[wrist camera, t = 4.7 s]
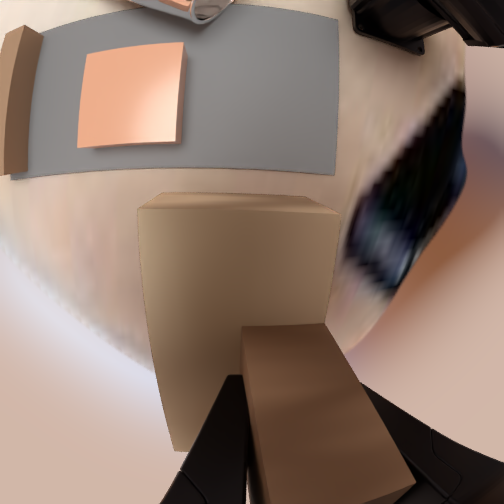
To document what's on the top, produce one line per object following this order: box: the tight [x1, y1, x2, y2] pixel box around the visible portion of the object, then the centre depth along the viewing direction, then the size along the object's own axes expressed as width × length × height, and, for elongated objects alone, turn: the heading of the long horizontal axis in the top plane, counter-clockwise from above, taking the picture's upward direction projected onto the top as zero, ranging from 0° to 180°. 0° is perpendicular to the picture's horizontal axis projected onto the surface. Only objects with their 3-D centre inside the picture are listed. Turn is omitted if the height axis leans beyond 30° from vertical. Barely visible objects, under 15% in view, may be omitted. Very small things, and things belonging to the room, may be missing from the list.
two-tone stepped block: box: [137, 193, 416, 504], centre depth 7 cm, size 5×9×8 cm, turn 177°
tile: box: [77, 42, 188, 149], centre depth 14 cm, size 6×6×2 cm
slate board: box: [0, 4, 339, 180], centre depth 14 cm, size 24×12×3 cm, turn 87°
